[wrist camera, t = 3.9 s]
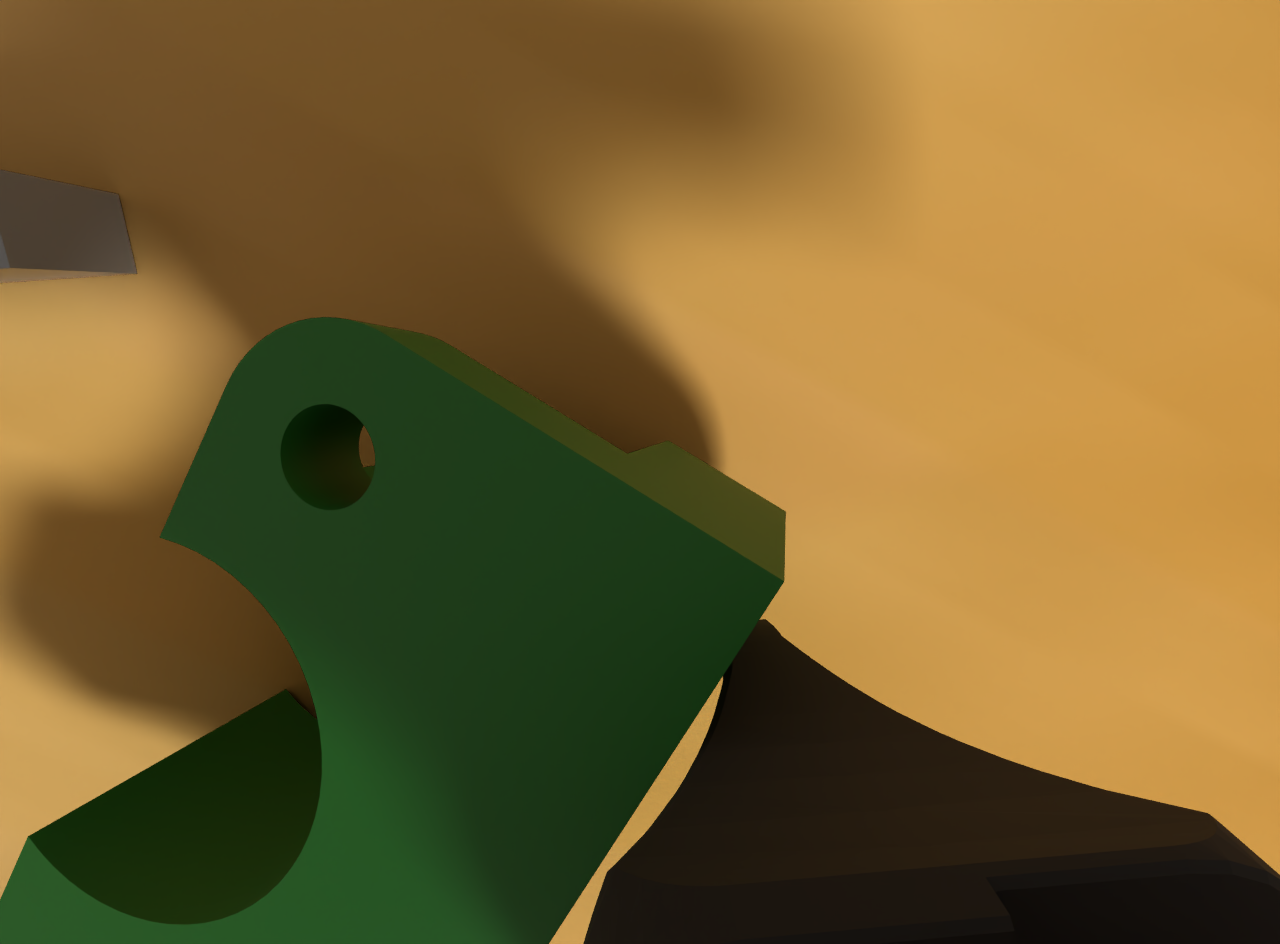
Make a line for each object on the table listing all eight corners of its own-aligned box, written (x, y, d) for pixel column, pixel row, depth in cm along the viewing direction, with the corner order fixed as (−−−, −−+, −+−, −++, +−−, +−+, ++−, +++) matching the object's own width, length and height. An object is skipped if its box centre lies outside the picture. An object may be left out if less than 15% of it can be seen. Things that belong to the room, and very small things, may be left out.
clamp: (518, 416, 16) (382, 144, 8) (739, 552, 16) (872, 427, 7) (170, 902, 14) (-635, 1339, 5) (414, 1095, 13) (-35, 2001, 4)
